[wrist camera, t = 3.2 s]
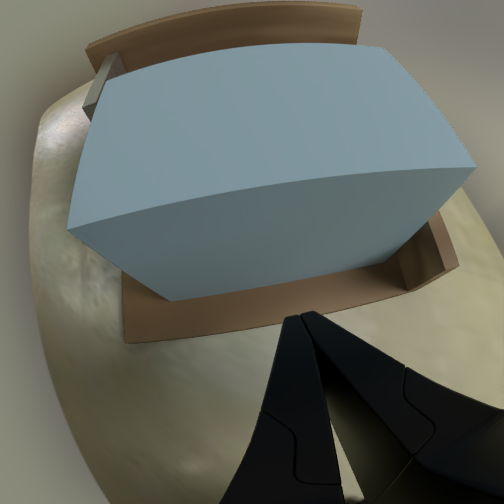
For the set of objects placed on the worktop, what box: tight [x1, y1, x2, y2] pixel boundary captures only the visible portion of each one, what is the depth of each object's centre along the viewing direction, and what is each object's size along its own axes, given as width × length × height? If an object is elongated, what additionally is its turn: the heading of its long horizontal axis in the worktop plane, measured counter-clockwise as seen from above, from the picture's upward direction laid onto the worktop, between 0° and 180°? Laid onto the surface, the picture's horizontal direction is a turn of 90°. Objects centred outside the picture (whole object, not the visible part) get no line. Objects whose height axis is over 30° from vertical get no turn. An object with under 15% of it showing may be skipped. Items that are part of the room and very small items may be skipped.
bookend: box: [82, 52, 127, 122], centre depth 14 cm, size 6×2×8 cm, turn 10°
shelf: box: [85, 1, 460, 344], centre depth 13 cm, size 16×17×10 cm
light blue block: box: [67, 43, 476, 302], centre depth 12 cm, size 7×12×9 cm, turn 100°
